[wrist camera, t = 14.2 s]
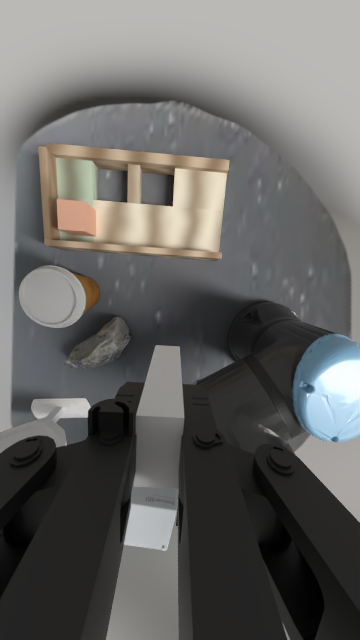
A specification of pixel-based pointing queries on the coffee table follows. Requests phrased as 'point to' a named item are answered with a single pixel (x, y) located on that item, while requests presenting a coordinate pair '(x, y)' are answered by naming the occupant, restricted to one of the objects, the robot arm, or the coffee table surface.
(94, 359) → the mineral rock
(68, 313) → the disposable coffee cup
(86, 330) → the coffee table surface
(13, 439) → the heart sculpture
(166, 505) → the supplement box
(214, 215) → the box
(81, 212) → the terracotta block
